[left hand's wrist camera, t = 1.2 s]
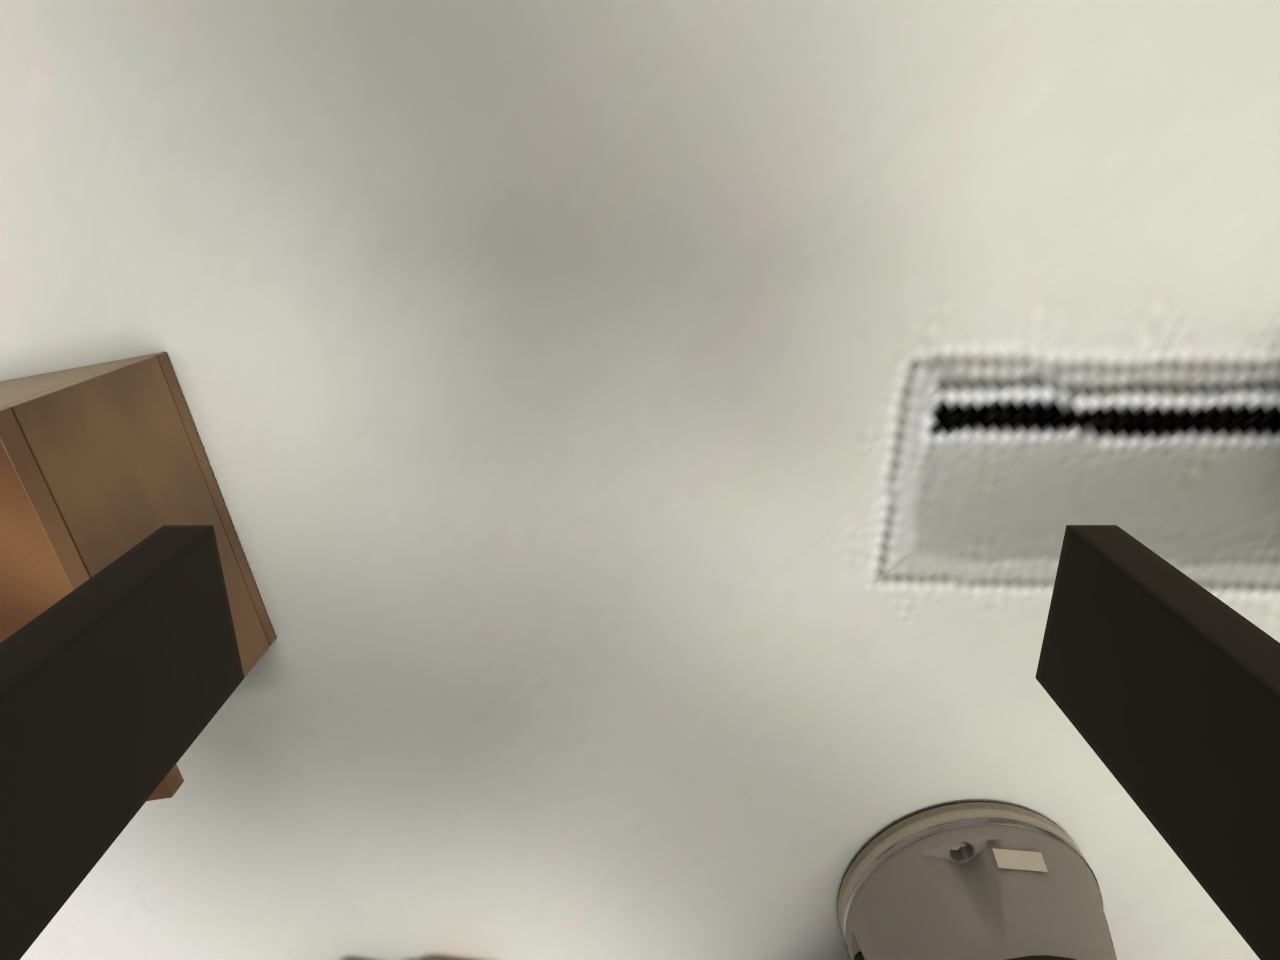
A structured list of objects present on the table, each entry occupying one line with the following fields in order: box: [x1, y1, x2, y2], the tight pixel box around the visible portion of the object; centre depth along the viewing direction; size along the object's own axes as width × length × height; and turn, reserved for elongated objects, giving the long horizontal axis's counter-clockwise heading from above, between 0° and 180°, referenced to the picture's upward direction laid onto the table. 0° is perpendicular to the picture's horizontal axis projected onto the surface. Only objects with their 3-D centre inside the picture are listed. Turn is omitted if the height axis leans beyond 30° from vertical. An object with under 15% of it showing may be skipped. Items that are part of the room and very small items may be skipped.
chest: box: [0, 352, 276, 717], centre depth 36 cm, size 16×9×10 cm, turn 10°
